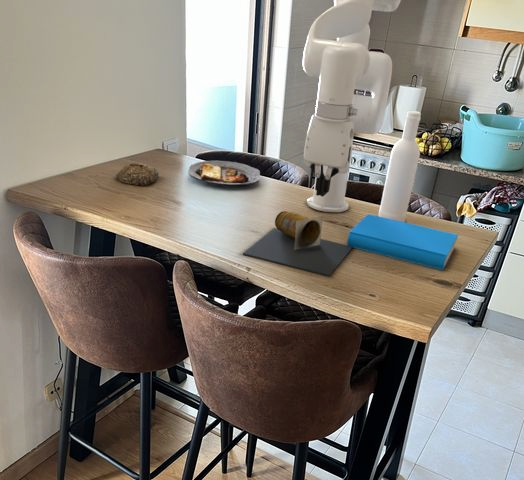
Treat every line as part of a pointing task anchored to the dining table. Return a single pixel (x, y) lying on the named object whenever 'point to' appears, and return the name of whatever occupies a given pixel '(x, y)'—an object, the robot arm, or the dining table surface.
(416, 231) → the book
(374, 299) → the dining table surface
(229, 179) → the food plate
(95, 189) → the dining table surface
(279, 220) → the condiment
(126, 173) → the bread roll
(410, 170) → the bottle
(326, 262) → the mat
